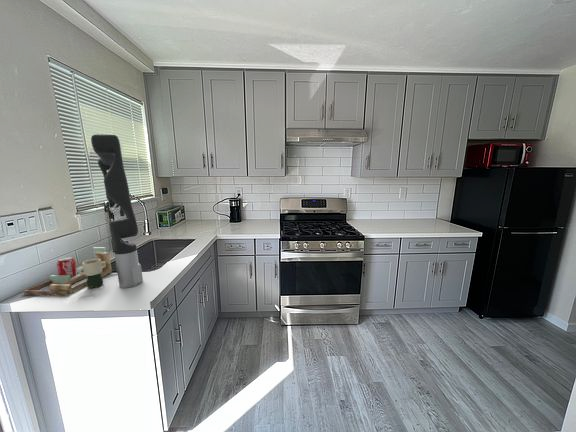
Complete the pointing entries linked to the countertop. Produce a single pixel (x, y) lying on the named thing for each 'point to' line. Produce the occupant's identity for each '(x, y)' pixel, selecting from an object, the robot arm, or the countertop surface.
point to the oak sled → (83, 276)
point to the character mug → (93, 272)
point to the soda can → (67, 266)
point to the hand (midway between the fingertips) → (117, 217)
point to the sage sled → (65, 278)
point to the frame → (35, 291)
